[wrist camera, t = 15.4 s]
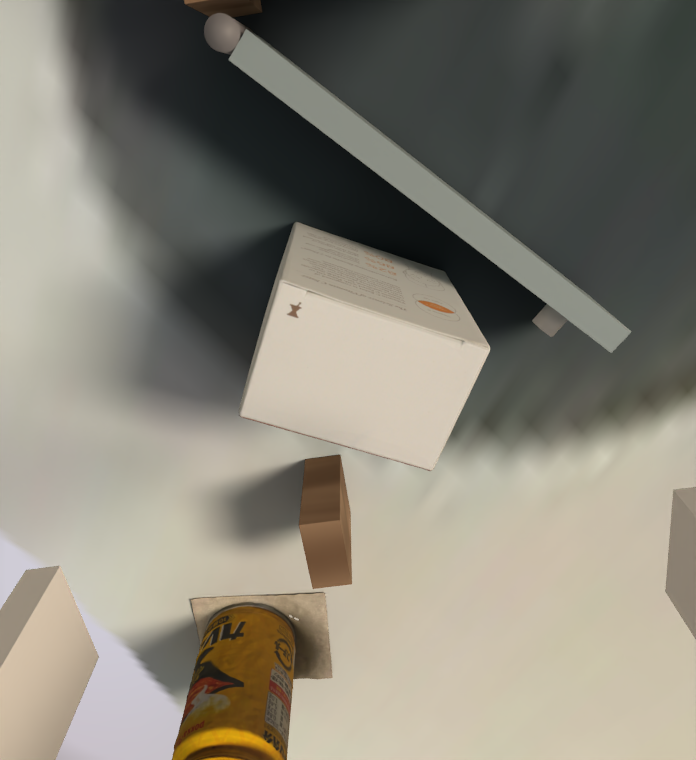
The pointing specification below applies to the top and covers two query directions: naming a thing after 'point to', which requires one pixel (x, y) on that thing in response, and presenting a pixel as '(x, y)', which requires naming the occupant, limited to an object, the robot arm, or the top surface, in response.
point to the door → (414, 181)
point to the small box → (363, 350)
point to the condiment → (250, 674)
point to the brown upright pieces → (321, 475)
